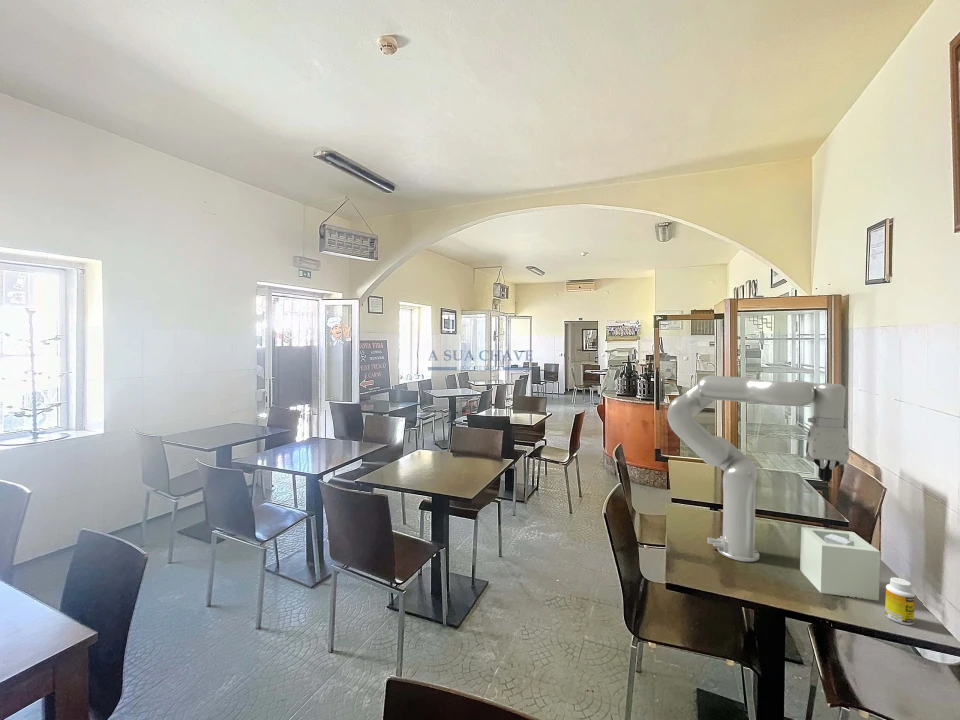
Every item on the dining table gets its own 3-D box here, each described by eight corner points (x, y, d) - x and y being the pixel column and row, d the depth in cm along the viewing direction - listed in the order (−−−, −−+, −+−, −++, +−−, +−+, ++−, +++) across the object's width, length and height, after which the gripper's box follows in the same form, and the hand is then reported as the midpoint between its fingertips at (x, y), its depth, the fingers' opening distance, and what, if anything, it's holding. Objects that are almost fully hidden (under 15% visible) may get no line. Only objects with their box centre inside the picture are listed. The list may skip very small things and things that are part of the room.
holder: (820, 592, 128) (822, 545, 128) (800, 570, 142) (801, 526, 141) (878, 600, 124) (880, 551, 124) (851, 576, 138) (853, 532, 138)
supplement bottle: (907, 628, 112) (908, 588, 112) (880, 616, 117) (881, 578, 117) (918, 623, 114) (919, 584, 114) (891, 611, 119) (893, 574, 119)
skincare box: (821, 574, 135) (822, 535, 135) (830, 571, 137) (831, 533, 136) (845, 584, 129) (846, 543, 129) (853, 581, 131) (854, 540, 131)
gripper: (804, 422, 137) (801, 481, 137) (863, 427, 132) (859, 487, 133) (795, 419, 144) (792, 474, 145) (851, 423, 139) (847, 480, 140)
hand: (824, 480), depth 139 cm, fingers closed
